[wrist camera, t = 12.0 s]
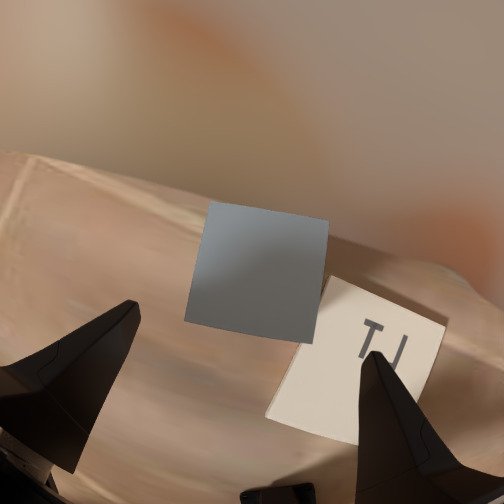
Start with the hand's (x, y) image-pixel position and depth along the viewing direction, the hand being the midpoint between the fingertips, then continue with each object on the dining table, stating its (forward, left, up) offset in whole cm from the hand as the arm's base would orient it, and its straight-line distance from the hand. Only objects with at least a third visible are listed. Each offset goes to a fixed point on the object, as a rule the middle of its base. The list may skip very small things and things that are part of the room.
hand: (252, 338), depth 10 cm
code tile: (-6, -8, -11) cm, 15 cm away
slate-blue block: (+2, -1, -11) cm, 12 cm away
